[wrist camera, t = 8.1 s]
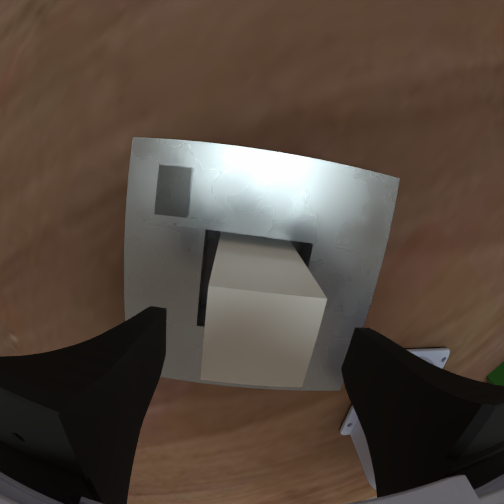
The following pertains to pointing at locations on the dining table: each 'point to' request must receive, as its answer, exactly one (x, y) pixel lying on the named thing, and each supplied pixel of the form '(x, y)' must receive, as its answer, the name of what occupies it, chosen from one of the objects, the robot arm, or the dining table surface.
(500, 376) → the hardback book
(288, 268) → the plug
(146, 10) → the dining table surface
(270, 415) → the dining table surface
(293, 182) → the socket
